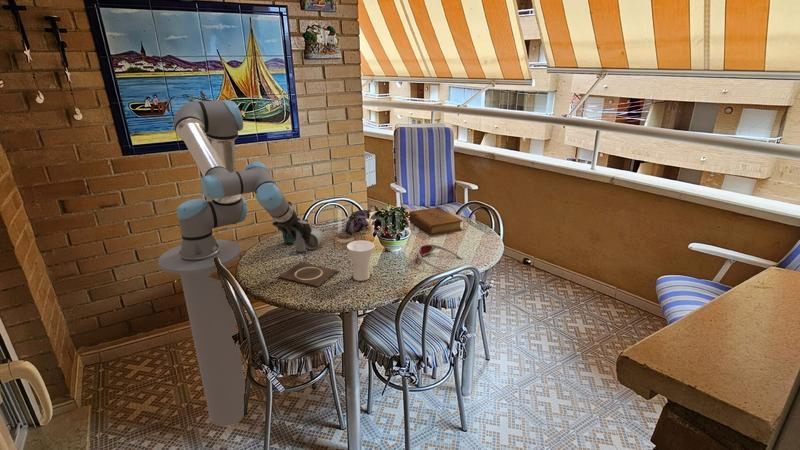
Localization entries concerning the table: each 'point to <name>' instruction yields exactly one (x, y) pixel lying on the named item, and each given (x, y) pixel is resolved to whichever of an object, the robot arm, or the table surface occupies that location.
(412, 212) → the diary
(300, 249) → the cylinder
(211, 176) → the robot arm
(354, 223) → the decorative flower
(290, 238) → the beverage bottle
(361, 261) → the cup
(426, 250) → the sunglasses
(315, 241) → the ceramic mug
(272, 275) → the table surface
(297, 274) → the drawing board
